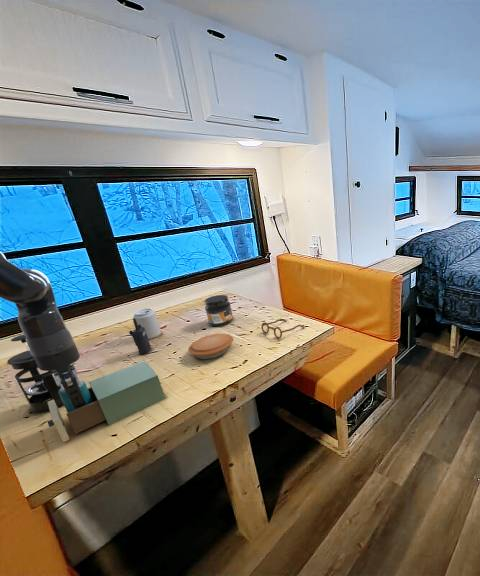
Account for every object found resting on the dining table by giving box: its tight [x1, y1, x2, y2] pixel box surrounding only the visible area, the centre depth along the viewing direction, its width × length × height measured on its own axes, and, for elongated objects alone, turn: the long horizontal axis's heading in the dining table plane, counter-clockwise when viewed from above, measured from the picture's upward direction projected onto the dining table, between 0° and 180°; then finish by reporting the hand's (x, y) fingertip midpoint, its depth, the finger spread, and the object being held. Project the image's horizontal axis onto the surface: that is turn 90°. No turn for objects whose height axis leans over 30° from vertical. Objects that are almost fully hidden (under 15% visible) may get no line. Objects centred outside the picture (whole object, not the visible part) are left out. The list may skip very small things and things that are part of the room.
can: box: [132, 308, 162, 340], centre depth 130 cm, size 8×8×12 cm
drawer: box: [47, 386, 106, 443], centre depth 84 cm, size 14×11×7 cm
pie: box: [187, 333, 234, 360], centre depth 118 cm, size 16×16×5 cm
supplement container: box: [204, 294, 234, 327], centre depth 141 cm, size 10×10×12 cm
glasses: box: [261, 318, 305, 339], centre depth 133 cm, size 13×13×5 cm
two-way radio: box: [128, 317, 152, 355], centre depth 117 cm, size 6×4×15 cm
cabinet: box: [88, 360, 166, 426], centre depth 91 cm, size 14×13×9 cm
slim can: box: [58, 380, 93, 413], centre depth 83 cm, size 5×5×10 cm
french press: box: [6, 333, 64, 414], centre depth 89 cm, size 12×9×23 cm
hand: (78, 401), depth 83 cm, fingers closed on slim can, 5 cm apart
